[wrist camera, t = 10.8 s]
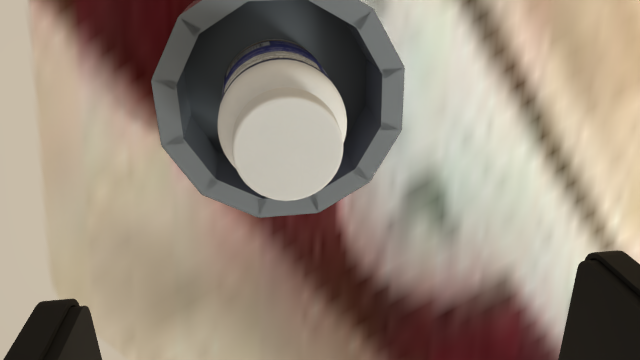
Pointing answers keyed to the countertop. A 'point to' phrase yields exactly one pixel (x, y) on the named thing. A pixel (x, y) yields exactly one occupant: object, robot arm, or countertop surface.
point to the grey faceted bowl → (330, 51)
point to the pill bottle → (281, 120)
